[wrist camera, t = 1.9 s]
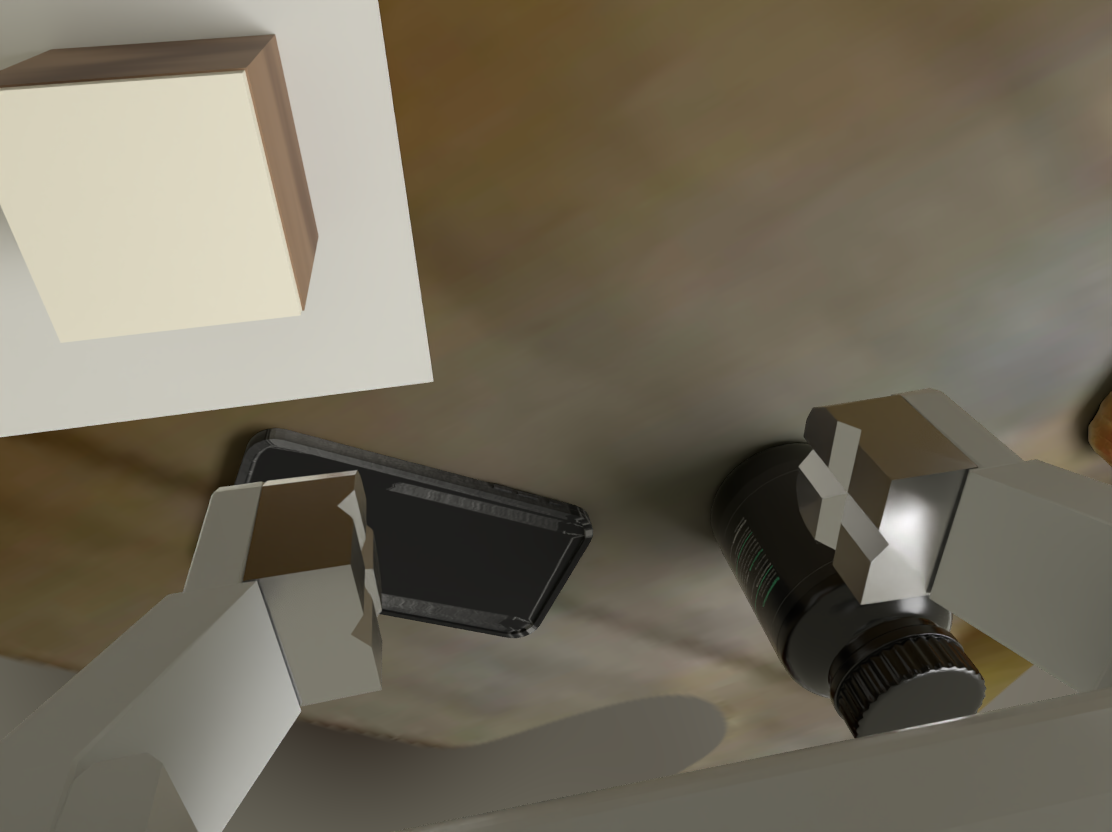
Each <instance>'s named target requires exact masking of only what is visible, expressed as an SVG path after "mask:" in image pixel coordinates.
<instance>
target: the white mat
mask: <svg viewBox="0 0 1112 832" xmlns="http://www.w3.org/2000/svg"><path fill="white" fill-rule="evenodd" d="M272 34H275V35H276V40H277V45H278V49H279V54H280V58H281V63H282V68H283V72H284V77H285V82H286V86H287V91H288V96H289V100H290V105H291V110H292V114H293V119H294V124H295V128H296V133H297V138H298V142H299V147H300V152H301V156H302V161H303V166H304V170H305V175H306V180H307V184H308V189H309V194H310V198H311V203H312V208H313V212H314V217H315V222H316V226H317V231H318V236H319V237H318V242H317V247H316V252H315V258H314V263H313V268H312V273H311V278H310V284H309V289H308V294H307V299H306V305H305V310H304V311H302V312H301V315H300V316H291V317H283V318H274V319H265V320H256V321H248V322H239V323H230V324H221V325H213V326H204V327H195V328H186V329H178V330H169V331H160V332H151V333H143V334H134V335H125V336H117V337H108V338H99V339H90V340H82V341H73V342H64V343H60V340H59V338H58V336H57V333H56V331H55V329H54V327H53V324H52V322H51V320H50V317H49V315H48V313H47V311H46V308H45V306H44V304H43V301H42V299H41V297H40V295H39V292H38V290H37V288H36V285H35V283H34V281H33V279H32V276H31V274H30V272H29V269H28V267H27V265H26V263H25V260H24V258H23V256H22V253H21V251H20V249H19V246H18V244H17V242H16V240H15V237H14V235H13V233H12V230H11V228H10V226H9V224H8V221H7V219H6V217H5V214H4V212H3V210H2V208H1V205H0V437H5V436H13V435H21V434H29V433H37V432H44V431H52V430H60V429H68V428H75V427H83V426H91V425H99V424H107V423H114V422H122V421H130V420H138V419H146V418H153V417H161V416H169V415H177V414H185V413H192V412H200V411H208V410H216V409H224V408H231V407H239V406H247V405H255V404H263V403H270V402H278V401H286V400H294V399H301V398H309V397H317V396H325V395H333V394H340V393H348V392H356V391H364V390H372V389H379V388H387V387H395V386H403V385H411V384H418V383H426V382H433V374H432V367H431V360H430V354H429V347H428V340H427V333H426V326H425V319H424V312H423V306H422V299H421V292H420V285H419V278H418V271H417V265H416V258H415V251H414V244H413V237H412V230H411V224H410V217H409V210H408V203H407V196H406V189H405V183H404V176H403V169H402V162H401V155H400V148H399V142H398V135H397V128H396V121H395V114H394V107H393V100H392V94H391V87H390V80H389V73H388V66H387V59H386V53H385V46H384V39H383V32H382V25H381V18H380V12H379V5H378V0H0V70H3V69H5V68H7V67H10V66H12V65H15V64H17V63H20V62H22V61H24V60H27V59H29V58H32V57H34V56H36V55H39V54H41V53H44V52H46V51H48V50H51V49H64V48H79V47H94V46H109V45H123V44H138V43H153V42H168V41H183V40H198V39H213V38H228V37H243V36H257V35H272Z"/></svg>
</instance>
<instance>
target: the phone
mask: <svg viewBox="0 0 1112 832" xmlns="http://www.w3.org/2000/svg"><path fill="white" fill-rule="evenodd" d="M355 470H358V472H359V474H360V476H361V480H362V484H363V488H364V492H365V496H366V525H367V526H368V527H370V528H371V529H372V530H373V532H374V537H375V542H376V547H377V553H378V559H379V566H380V577H381V589H382V611H381V612H380V613H379V614H383V615H388V616H394V617H399V618H404V619H410V620H415V621H421V622H426V623H431V624H437V625H442V626H448V627H453V628H459V629H464V630H469V631H475V632H480V633H486V634H491V635H496V636H502V637H507V638H519V637H524V636H526V635H529V634H531V633H532V632H534V631H535V630H536V629H537V628H538V627H539V626H540V624H541V623H542V621H543V619H544V618H545V616H546V614H547V613H548V611H549V609H550V608H551V606H552V604H553V603H554V601H555V599H556V598H557V596H558V595H559V593H560V591H561V590H562V588H563V586H564V585H565V583H566V581H567V580H568V578H569V576H570V575H571V573H572V571H573V570H574V568H575V566H576V565H577V563H578V561H579V560H580V558H581V556H582V555H583V553H584V552H585V550H586V548H587V547H588V545H589V543H590V542H591V539H592V537H593V528H592V525H591V522H590V519H589V517H588V514H587V513H586V512H585V511H584V510H583V509H582V508H580V507H578V506H576V505H572V504H568V503H564V502H560V501H557V500H553V499H549V498H545V497H541V496H537V495H534V494H530V493H526V492H522V491H518V490H515V489H511V488H508V487H504V486H501V485H497V484H492V483H488V482H484V481H480V480H477V479H473V478H469V477H465V476H461V475H457V474H454V473H450V472H446V471H442V470H438V469H435V468H431V467H427V466H423V465H419V464H416V463H412V462H408V461H404V460H400V459H397V458H393V457H389V456H385V455H381V454H377V453H374V452H370V451H366V450H362V449H358V448H355V447H351V446H347V445H343V444H339V443H336V442H332V441H328V440H324V439H320V438H317V437H313V436H309V435H305V434H301V433H297V432H294V431H290V430H286V429H278V428H274V429H266V430H264V431H261V432H259V433H257V434H256V435H255V436H253V437H252V438H251V439H250V441H249V443H248V445H247V447H246V450H245V453H244V456H243V459H242V462H241V465H240V468H239V471H238V474H237V477H236V481H235V484H234V485H240V484H248V483H255V482H265V483H266V482H267V481H271V480H279V479H287V478H296V477H304V476H313V475H321V474H329V473H338V472H346V471H355Z"/></svg>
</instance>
